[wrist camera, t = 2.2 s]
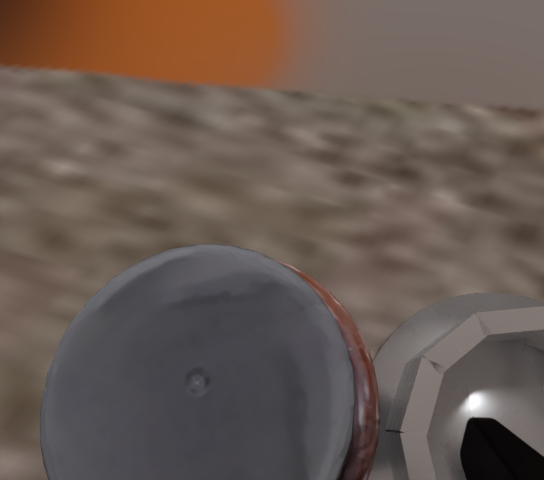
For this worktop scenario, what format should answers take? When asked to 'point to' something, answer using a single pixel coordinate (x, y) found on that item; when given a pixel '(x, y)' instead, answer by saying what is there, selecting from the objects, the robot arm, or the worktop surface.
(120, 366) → the supplement bottle
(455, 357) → the faceted metal ring
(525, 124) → the worktop surface
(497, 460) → the robot arm
